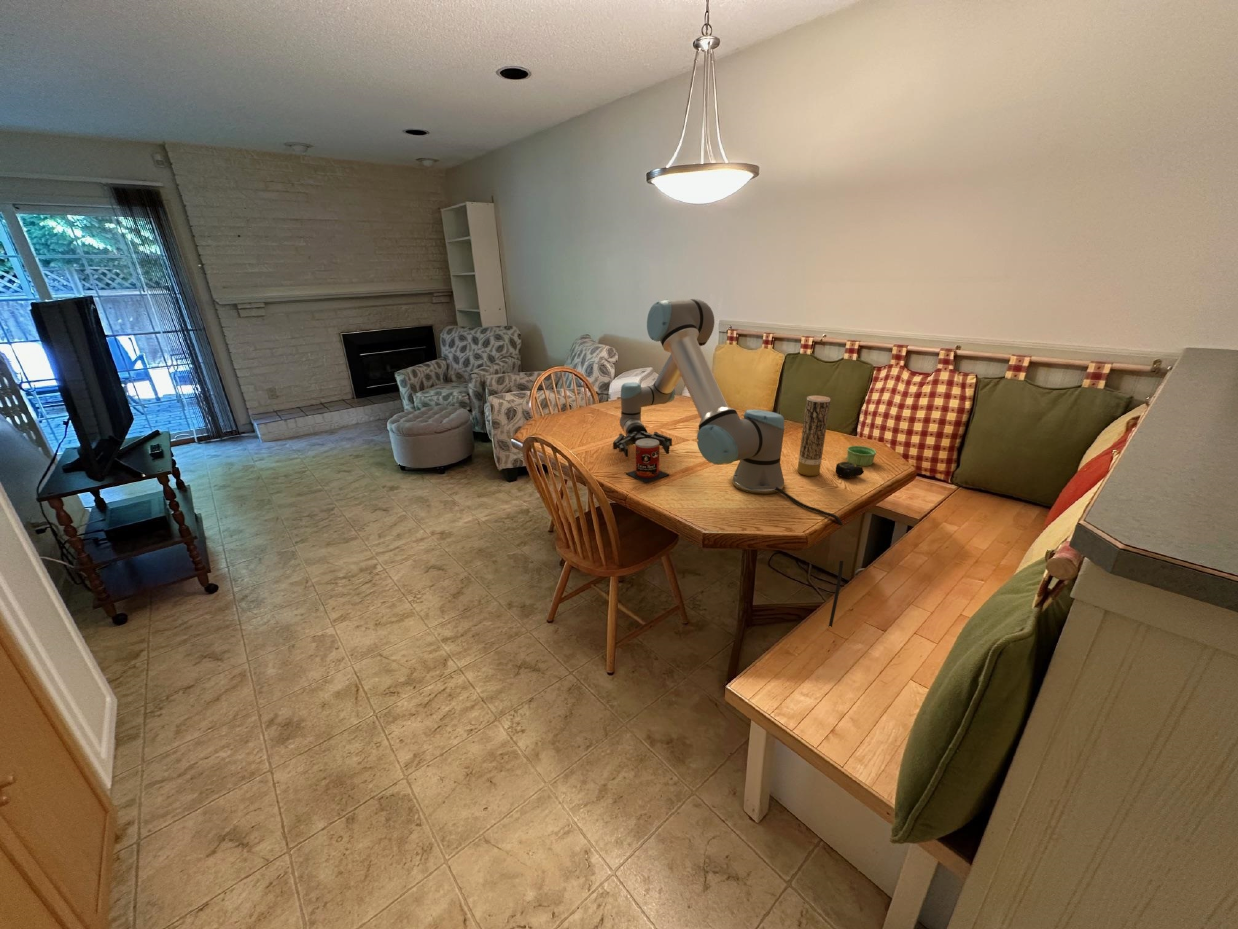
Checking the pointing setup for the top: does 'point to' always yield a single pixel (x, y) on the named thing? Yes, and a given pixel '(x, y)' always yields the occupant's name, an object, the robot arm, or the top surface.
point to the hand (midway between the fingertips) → (647, 451)
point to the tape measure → (848, 470)
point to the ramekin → (860, 455)
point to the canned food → (647, 457)
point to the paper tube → (813, 435)
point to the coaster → (647, 480)
